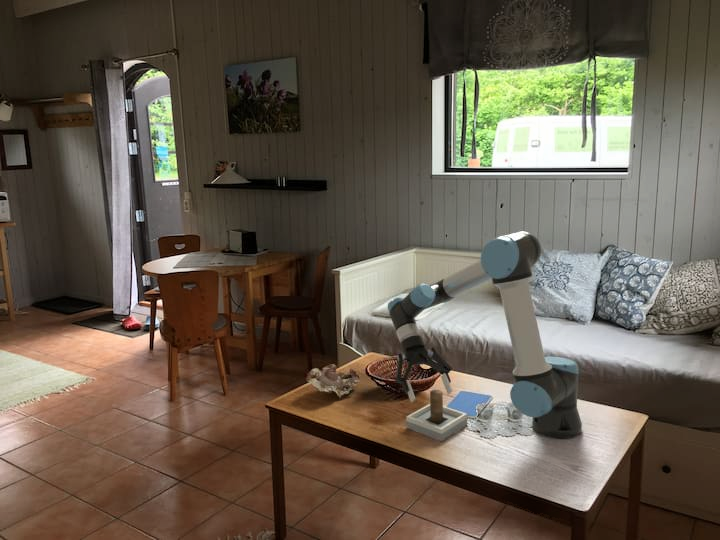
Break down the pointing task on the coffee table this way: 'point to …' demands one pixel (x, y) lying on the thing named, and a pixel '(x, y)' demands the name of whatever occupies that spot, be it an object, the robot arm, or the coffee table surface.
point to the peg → (436, 406)
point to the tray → (423, 424)
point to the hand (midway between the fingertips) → (432, 396)
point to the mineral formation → (333, 380)
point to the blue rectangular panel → (468, 402)
